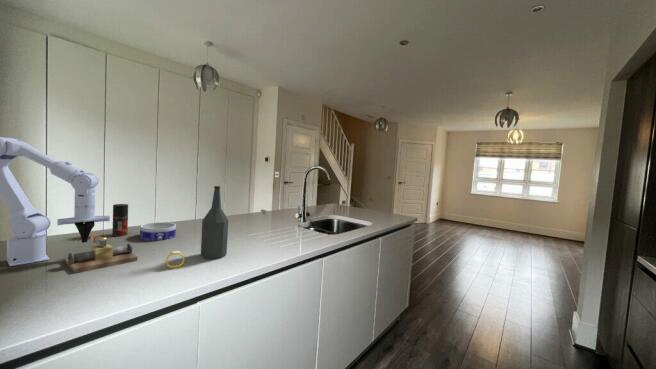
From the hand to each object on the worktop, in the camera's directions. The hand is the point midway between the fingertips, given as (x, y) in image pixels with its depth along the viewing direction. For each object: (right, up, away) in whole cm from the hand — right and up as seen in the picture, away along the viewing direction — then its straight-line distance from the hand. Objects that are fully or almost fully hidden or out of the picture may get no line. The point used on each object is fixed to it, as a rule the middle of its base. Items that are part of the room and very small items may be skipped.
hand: (84, 241), depth 103 cm
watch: (+34, -10, -1) cm, 36 cm away
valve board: (+7, -7, -1) cm, 10 cm away
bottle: (+43, -9, +14) cm, 46 cm away
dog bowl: (+7, -5, +34) cm, 35 cm away
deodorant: (-11, -4, +32) cm, 34 cm away
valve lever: (+4, -1, +1) cm, 5 cm away
